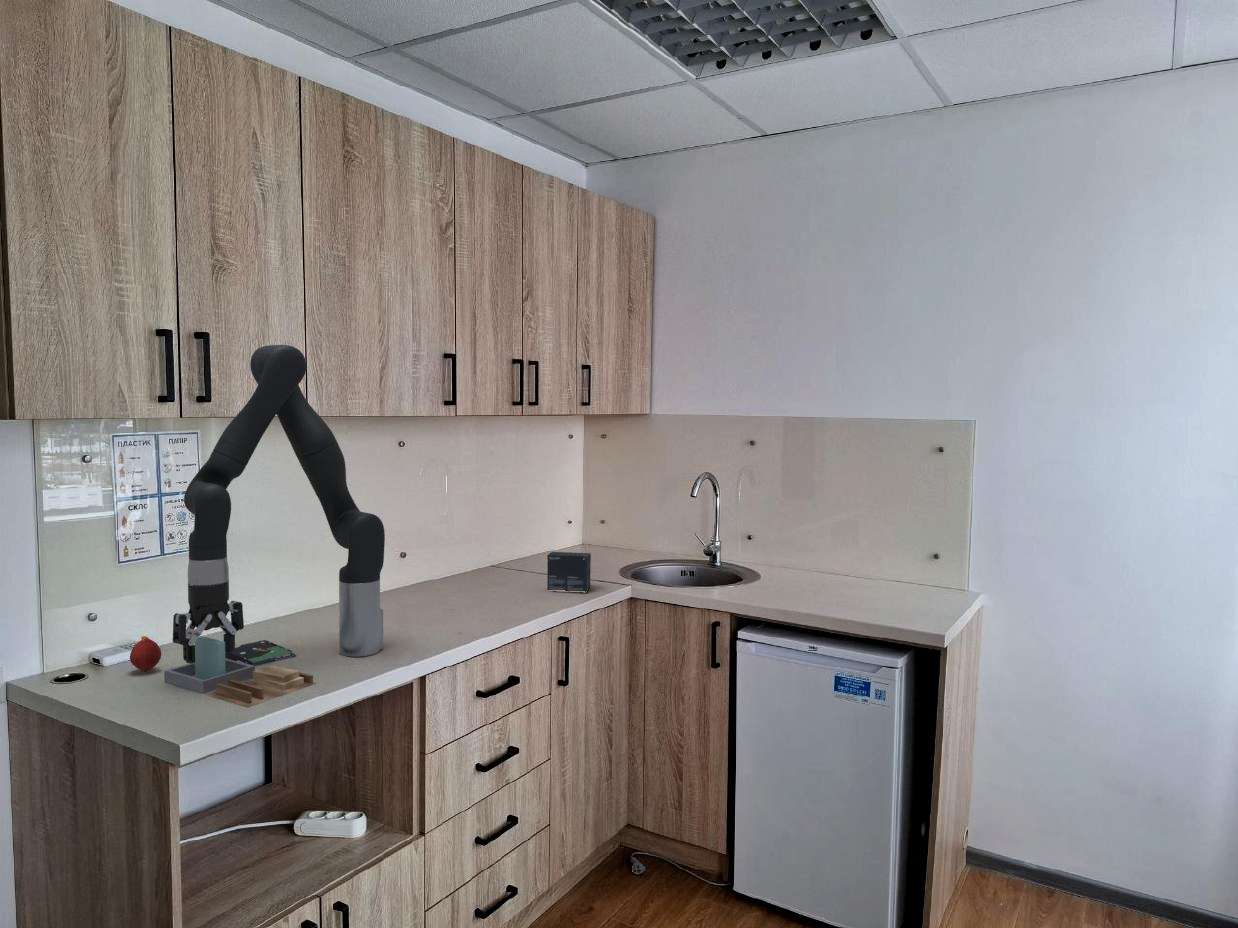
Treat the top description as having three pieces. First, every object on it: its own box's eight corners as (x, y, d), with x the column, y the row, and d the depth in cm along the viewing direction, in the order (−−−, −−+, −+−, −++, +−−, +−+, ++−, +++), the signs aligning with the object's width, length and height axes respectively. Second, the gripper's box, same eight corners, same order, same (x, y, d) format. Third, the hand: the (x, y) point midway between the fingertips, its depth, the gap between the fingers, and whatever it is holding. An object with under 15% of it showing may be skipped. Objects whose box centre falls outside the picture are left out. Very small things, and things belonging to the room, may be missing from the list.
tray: (216, 672, 178) (216, 655, 178) (254, 682, 172) (254, 665, 171) (164, 687, 168) (164, 670, 167) (203, 699, 162) (202, 681, 161)
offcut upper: (269, 671, 172) (269, 665, 172) (299, 676, 169) (299, 670, 169) (252, 677, 168) (252, 671, 168) (282, 683, 165) (282, 676, 165)
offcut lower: (274, 675, 173) (274, 669, 172) (303, 683, 168) (303, 677, 168) (253, 682, 168) (253, 676, 168) (283, 690, 164) (283, 684, 164)
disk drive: (221, 660, 188) (253, 674, 178) (221, 648, 188) (252, 661, 178) (265, 650, 196) (297, 663, 186) (264, 639, 196) (297, 651, 186)
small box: (591, 589, 265) (591, 552, 265) (586, 594, 259) (587, 556, 258) (551, 587, 267) (551, 550, 267) (546, 591, 261) (546, 554, 260)
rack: (274, 677, 175) (274, 663, 175) (316, 688, 169) (316, 673, 168) (204, 700, 161) (204, 684, 161) (247, 713, 155) (247, 697, 154)
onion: (148, 666, 181) (147, 630, 180) (167, 669, 179) (167, 633, 178) (124, 674, 175) (123, 637, 175) (143, 677, 173) (142, 640, 173)
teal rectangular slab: (201, 677, 172) (200, 635, 172) (225, 684, 168) (224, 641, 168) (195, 679, 171) (194, 637, 170) (219, 686, 167) (218, 643, 166)
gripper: (228, 571, 176) (229, 645, 177) (163, 583, 164) (165, 663, 165) (251, 575, 172) (252, 651, 174) (186, 588, 160) (188, 669, 161)
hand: (209, 657), depth 169 cm, fingers open, 8 cm apart
